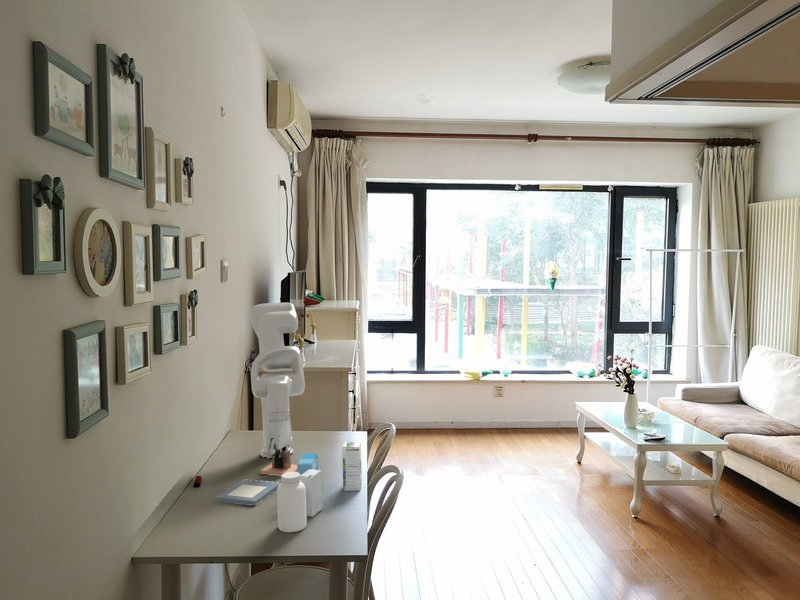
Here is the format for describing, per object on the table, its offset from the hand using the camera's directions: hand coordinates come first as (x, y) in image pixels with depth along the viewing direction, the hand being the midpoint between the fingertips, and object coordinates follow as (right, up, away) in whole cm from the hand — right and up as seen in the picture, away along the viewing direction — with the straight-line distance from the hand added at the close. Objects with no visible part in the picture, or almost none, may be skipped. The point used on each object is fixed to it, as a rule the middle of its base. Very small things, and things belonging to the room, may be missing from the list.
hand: (281, 465), depth 214 cm
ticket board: (-6, -4, -19) cm, 21 cm away
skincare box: (+16, -4, -35) cm, 39 cm away
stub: (0, -2, 0) cm, 2 cm away
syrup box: (+27, -3, -17) cm, 31 cm away
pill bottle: (+12, -5, -44) cm, 46 cm away
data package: (+13, -4, -21) cm, 25 cm away
